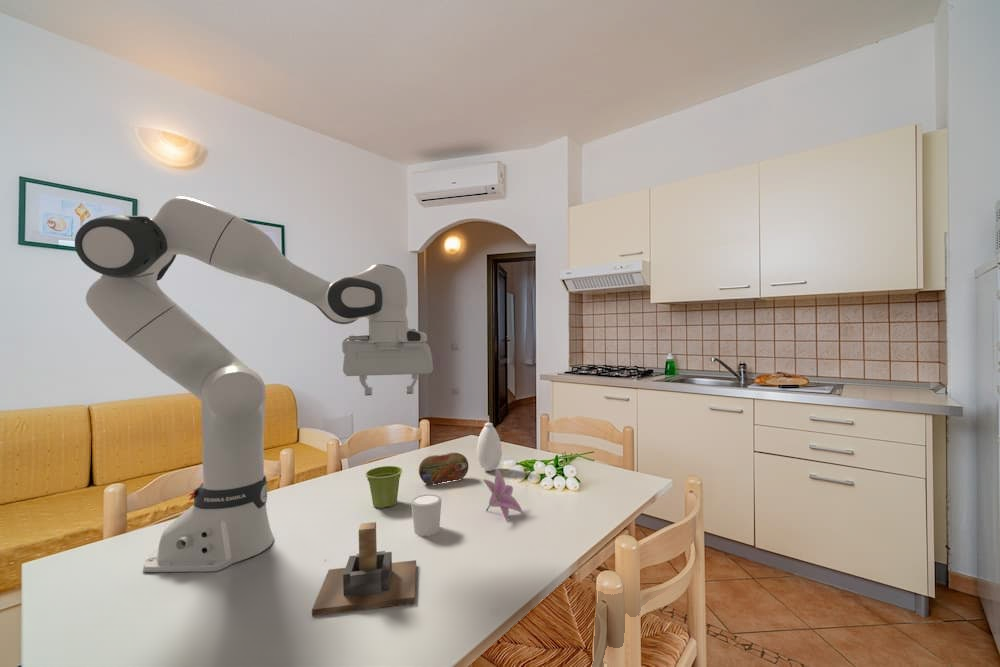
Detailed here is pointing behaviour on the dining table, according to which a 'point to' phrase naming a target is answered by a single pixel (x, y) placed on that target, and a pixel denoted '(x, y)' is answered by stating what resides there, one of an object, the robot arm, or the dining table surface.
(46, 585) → the dining table surface
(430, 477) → the tin
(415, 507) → the white cup
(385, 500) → the plant pot
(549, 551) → the dining table surface
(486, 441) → the sauce bottle
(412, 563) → the socket board
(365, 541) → the wooden stick
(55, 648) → the dining table surface
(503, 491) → the lily
